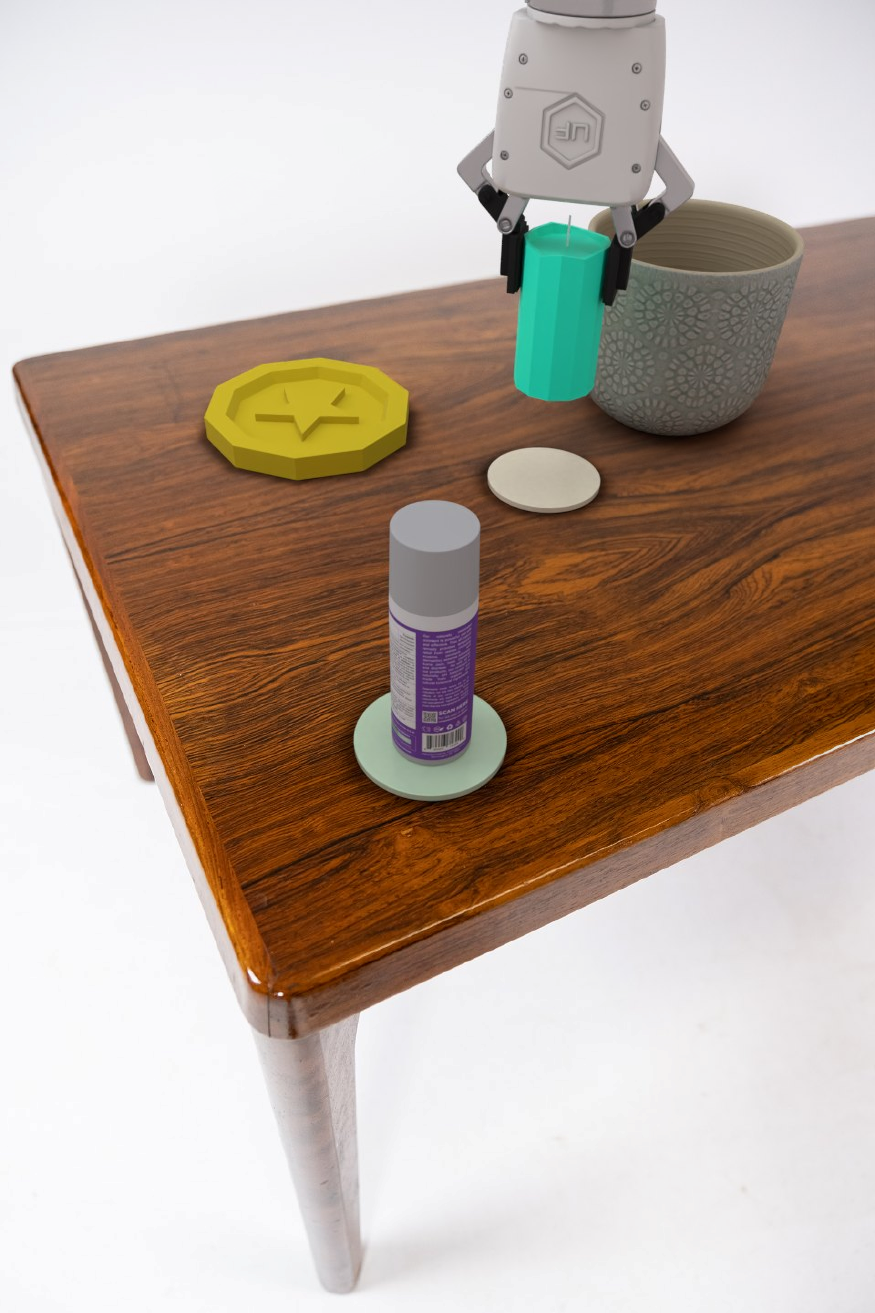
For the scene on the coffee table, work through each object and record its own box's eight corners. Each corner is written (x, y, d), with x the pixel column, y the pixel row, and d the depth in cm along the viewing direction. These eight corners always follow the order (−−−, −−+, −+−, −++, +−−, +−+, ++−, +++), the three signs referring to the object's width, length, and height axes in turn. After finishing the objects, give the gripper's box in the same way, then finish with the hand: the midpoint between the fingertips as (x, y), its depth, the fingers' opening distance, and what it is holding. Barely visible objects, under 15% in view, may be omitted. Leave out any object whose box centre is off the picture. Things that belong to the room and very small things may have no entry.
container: (479, 717, 61) (492, 507, 51) (459, 774, 57) (469, 560, 47) (404, 701, 62) (403, 491, 52) (381, 756, 58) (374, 543, 48)
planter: (779, 390, 93) (825, 218, 83) (731, 477, 82) (776, 290, 72) (606, 350, 99) (629, 185, 89) (539, 426, 88) (555, 247, 77)
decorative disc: (435, 460, 83) (435, 439, 82) (219, 491, 79) (216, 468, 78) (385, 370, 95) (385, 349, 94) (196, 392, 91) (193, 371, 90)
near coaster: (520, 705, 62) (521, 700, 62) (486, 816, 56) (487, 810, 55) (380, 677, 64) (380, 671, 64) (332, 782, 57) (331, 776, 57)
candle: (501, 369, 77) (512, 204, 69) (574, 359, 78) (593, 197, 70) (530, 406, 73) (545, 235, 65) (607, 395, 74) (630, 226, 66)
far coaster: (607, 461, 84) (608, 456, 83) (590, 521, 77) (590, 516, 77) (500, 445, 85) (501, 440, 85) (475, 502, 79) (475, 497, 78)
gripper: (432, -12, 58) (429, 298, 70) (741, 9, 54) (682, 330, 66) (464, -32, 63) (456, 258, 75) (747, -14, 60) (691, 286, 72)
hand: (562, 289), depth 71 cm, fingers closed on candle, 6 cm apart
